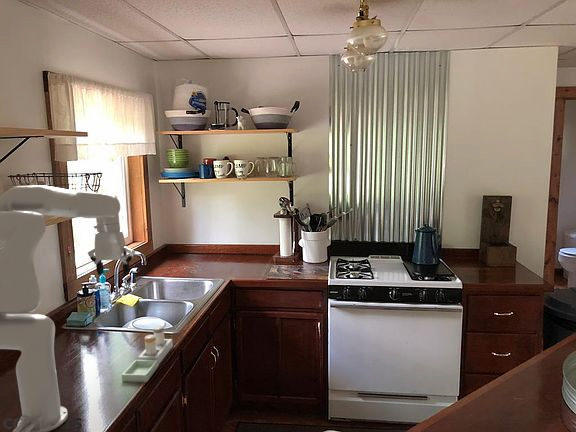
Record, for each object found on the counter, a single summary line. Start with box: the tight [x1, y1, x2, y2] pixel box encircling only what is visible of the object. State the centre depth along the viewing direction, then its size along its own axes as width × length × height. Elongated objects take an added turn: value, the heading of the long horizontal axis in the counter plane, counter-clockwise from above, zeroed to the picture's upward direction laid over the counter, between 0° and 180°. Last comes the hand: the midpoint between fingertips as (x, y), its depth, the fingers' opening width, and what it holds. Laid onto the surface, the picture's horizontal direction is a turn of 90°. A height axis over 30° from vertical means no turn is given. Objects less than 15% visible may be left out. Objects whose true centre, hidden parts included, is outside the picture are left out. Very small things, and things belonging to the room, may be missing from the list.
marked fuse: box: [144, 334, 157, 356], centre depth 164 cm, size 4×4×9 cm
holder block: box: [137, 338, 174, 366], centre depth 168 cm, size 15×7×3 cm, turn 174°
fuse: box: [152, 325, 166, 346], centre depth 172 cm, size 4×4×9 cm
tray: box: [121, 359, 159, 383], centre depth 155 cm, size 10×8×2 cm
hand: (113, 273), depth 169 cm, fingers open, 9 cm apart
